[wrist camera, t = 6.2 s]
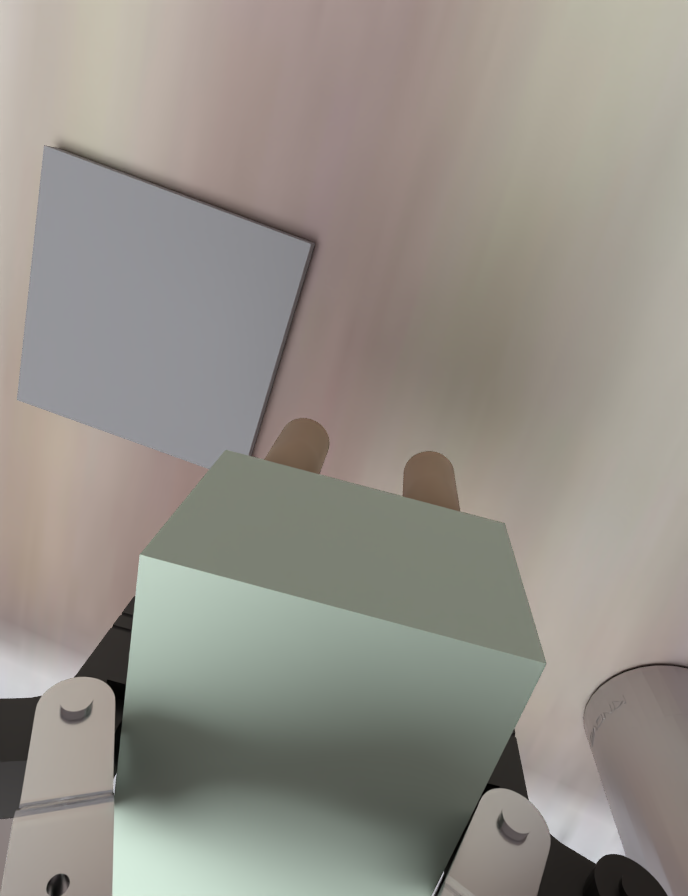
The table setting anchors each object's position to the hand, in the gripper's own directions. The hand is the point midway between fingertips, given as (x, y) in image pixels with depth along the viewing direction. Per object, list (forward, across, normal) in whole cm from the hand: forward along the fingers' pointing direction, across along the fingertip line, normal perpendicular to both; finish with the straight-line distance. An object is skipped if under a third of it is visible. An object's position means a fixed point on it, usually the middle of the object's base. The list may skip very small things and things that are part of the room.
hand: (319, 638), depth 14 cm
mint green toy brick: (+4, 0, 0) cm, 4 cm away
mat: (+20, +13, -1) cm, 23 cm away
